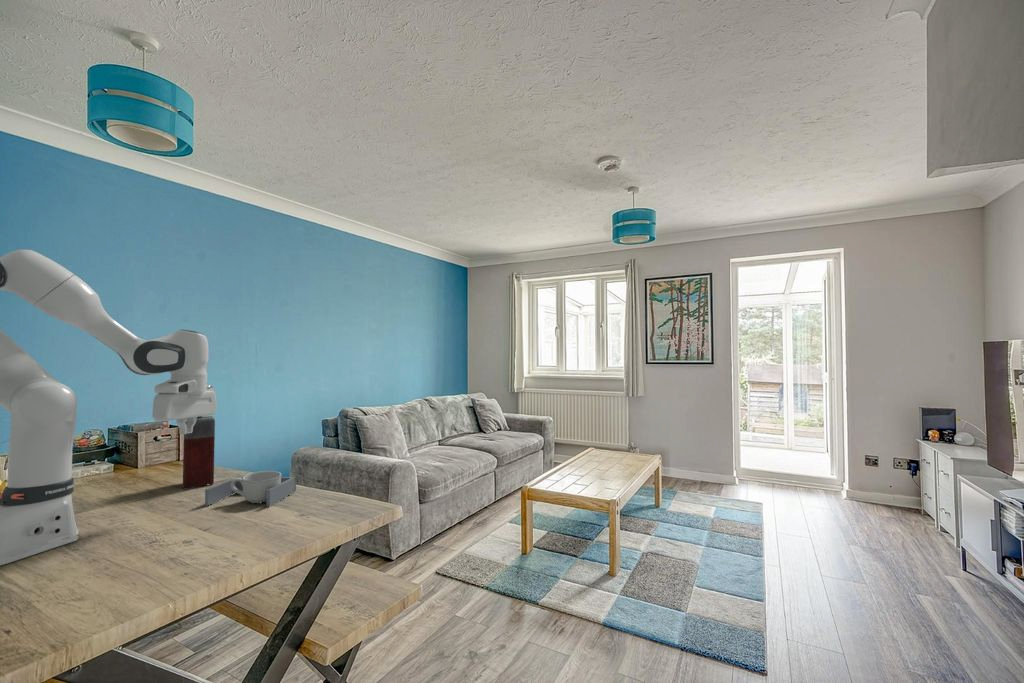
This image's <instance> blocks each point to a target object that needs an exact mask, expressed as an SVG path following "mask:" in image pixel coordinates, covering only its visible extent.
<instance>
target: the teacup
mask: <svg viewBox="0 0 1024 683" xmlns="http://www.w3.org/2000/svg"><path fill="white" fill-rule="evenodd" d="M242 477H243V479H242V478H236V477H234V478H235V479H233V478H232V479H233V480H232V482H231V484H230V486H231V489H232V490H233V491H235V492H236V493H237V494H239V495H240V496H241V497H243V498H244V500H245V501H248V502H249V503H250V502H251V504H254V503H259V504H261V503H260V502H266V503H267V490H268V489H270V488H272V487H274V486H276V485H278V484H280V483H281V477H282V473H281V472H279V471H275V470H263V471H261V470H260V471H256V472H255V471H254V472H251V473H247V474H246V475H244V476H242ZM236 481H239V482H241V485H242V486H243V491H242V490H239V489H237V488H236V487H235V486H234V483H235V482H236Z"/></svg>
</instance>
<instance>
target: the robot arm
mask: <svg viewBox="0 0 1024 683" xmlns="http://www.w3.org/2000/svg"><path fill="white" fill-rule="evenodd" d="M0 291H5V292H8V293H11V294H12V295H13V294H14V295H16V296H18V297H20V298H21V299H22V300H24V301H26V302H27V303H28V304H30V305H32V306H34V307H35V308H36V309H37V310H39V311H41V312H43V313H45V314H47V316H50V317H52V318H54V319H56V320H59V321H60V322H62V323H65V324H67V325H70V326H73V327H75V328H77V329H79V330H82V331H84V332H86V333H88V334H89V335H91V336H92V337H94V339H97V340H98V341H99V342H101V343H102V344H104V345H105V346H106V347H107V348H109V349H112V351H114V352H116V354H117V355H118V356H119V357H120V358H121V361H122V362H123V364H124V365H125V367H126V368H127V369H128V370H129V371H130V372H132V373H134V374H135V375H140V376H152V375H160V374H163V373H168V372H169V373H170V379H167V380H166V381H164V382H161V383H158V384H156V385H155V386H154V388H153V389H154V393H155V395H154V398H153V404H152V418H153V420H154V421H155V422H169V421H175V422H176V425H177V427H178V430H179V432H178V434H179V435H184V434H189V433H192V432H193V426H194V425H195V423H196V421H197V417H200V416H202V417H204V416H214V415H216V413H217V410H218V407H217V406H218V405H217V404H218V402H217V400H218V399H217V394H216V391H215V388H214V387H213V386H212V384H208V372H207V366H208V363H209V353H210V352H209V350H210V349H209V340H208V337H207V336H206V335H205V334H204V333H202V332H198V331H195V330H189V329H177V330H176V331H174V332H172V333H169V334H168V335H167V334H166V335H164V336H161V337H158V338H154V339H149V340H147V339H144V338H141V337H138V336H137V335H135V334H134V333H132V332H131V331H129V330H128V329H127V328H125V327H124V326H123V325H122V324H120V323H119V322H118V321H116V320H115V319H114V318H112V317H111V316H110V315H109V314H108V312H106V310H105V309H104V306H103V304H102V301H101V298H100V296H99V294H98V293H97V292H96V291H95V290H94V289H93V288H92V287H91V286H90V285H89V284H88V283H86V282H85V281H84V280H82V279H81V278H80V277H79V276H77V275H75V274H74V273H73V272H72V271H70V270H69V269H67V268H65V267H64V266H62V265H61V264H59V263H57V262H56V261H54V260H52V259H50V258H48V257H46V256H45V255H43V254H41V253H39V252H37V251H35V250H31V249H16V250H13V251H9V252H8V253H6V254H4V255H2V256H1V257H0ZM0 406H1V407H2V408H3V409H5V411H6V412H9V413H10V428H9V429H10V432H9V442H8V443H9V445H8V452H7V479H6V480H7V482H6V486H5V487H4V488H3V490H2V492H0V566H4V565H6V564H10V563H12V562H16V561H19V560H22V559H25V558H28V557H31V556H34V555H36V554H40V553H43V552H46V551H50V550H52V549H54V548H57V547H61V546H64V545H67V544H69V543H72V542H75V541H78V539H79V537H78V536H79V533H80V531H79V529H78V527H77V524H76V518H75V513H74V512H75V511H74V506H73V498H72V497H73V496H72V495H73V492H75V491H74V490H75V483H74V482H75V480H74V477H73V476H72V475H73V473H72V472H73V448H74V439H75V433H76V432H75V430H76V423H77V414H78V412H77V410H78V396H77V395H76V393H75V391H74V390H73V389H71V388H70V387H69V386H68V385H66V384H64V383H60V381H58V379H56V378H55V377H54V376H53V375H52V374H50V373H49V372H48V371H47V370H46V369H45V368H44V367H43V366H41V364H39V362H37V360H36V359H35V358H33V357H32V356H31V355H30V354H29V352H28V351H26V350H25V349H24V348H23V347H21V346H20V345H19V344H18V343H17V342H16V341H14V340H13V339H12V338H11V337H10V336H9V335H7V333H5V332H4V331H3V330H2V329H1V328H0ZM187 421H188V422H187ZM185 422H187V424H186V423H185Z"/></svg>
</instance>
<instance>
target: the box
mask: <svg viewBox="0 0 1024 683" xmlns="http://www.w3.org/2000/svg"><path fill="white" fill-rule="evenodd" d="M243 477H244V476H236V477H234V478H231V479H228V480H226V481H223V482H221V483H219V484H216V485H212V486H211V487H208V488H206V489H205V490H204V507H209V506H208V505H210V504H212V505H214V504H213V503H215V502H217V501H219V500H221V499H223V500H225V499H224V498H225V497H227V496H229V495H231V494H233V493H235V491H233V490H232V489H231V486H230V484H231V482H232V480H233V479H235V478H242V479H243ZM234 486H235V487H236V488H237V489H239V490H242V491H243V486H242V485H241V482H239V481H236V482H235V483H234ZM296 490H297V477H296V476H281V483H280V484H278V485H276V486H274V487H272V488H270V489H268V490H267V502H266V504H265V505H266V506H271V505H273V504H274V505H276V504H277V502H278V501H280V500H282V499H283V498H285V497H287V496H288V495H290V494H292V493H294V492H295V491H296ZM296 492H297V491H296ZM294 494H295V493H294ZM292 495H293V494H292ZM290 496H291V495H290ZM287 498H288V497H287ZM285 499H286V498H285ZM283 500H284V499H283ZM283 500H282V501H283ZM221 501H222V500H221ZM219 502H220V501H219ZM280 502H281V501H280ZM217 503H218V502H217ZM275 503H276V504H275ZM278 503H279V502H278ZM215 504H216V503H215ZM274 505H273V506H274ZM210 506H211V505H210ZM271 507H272V506H271Z"/></svg>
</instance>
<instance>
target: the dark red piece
mask: <svg viewBox="0 0 1024 683" xmlns="http://www.w3.org/2000/svg"><path fill="white" fill-rule="evenodd" d="M215 420H216V419H215V417H214V415H208V416H200V417H197V421H196V423H195V425H194V426H193V432H192V433H189V434H183V451H182V452H183V456H182V457H183V458H182V464H183V465H182V489H183V488H187V489H191V488H190V487H194V488H197V487H196V486H201V487H203V486H202V485H207V484H213V483H214V484H215V445H216V443H215V440H216V437H215V435H216V432H215V431H216V421H215ZM187 422H188V421H187ZM187 422H185V423H186V424H187Z"/></svg>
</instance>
